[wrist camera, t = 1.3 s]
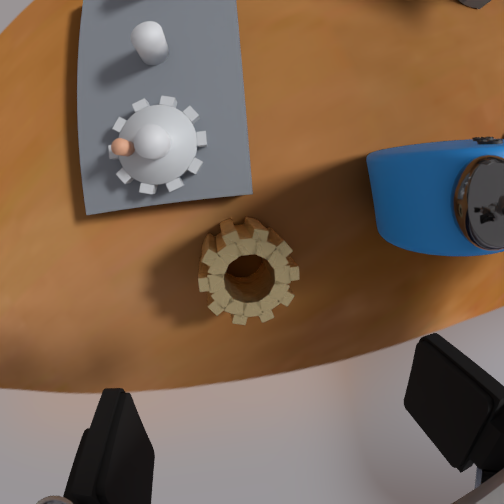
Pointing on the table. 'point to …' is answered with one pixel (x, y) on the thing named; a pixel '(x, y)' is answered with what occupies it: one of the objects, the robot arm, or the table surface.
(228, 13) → the gear board
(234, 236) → the brass gear
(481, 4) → the coffeepot
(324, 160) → the table surface
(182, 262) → the table surface
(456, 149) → the alarm clock
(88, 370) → the table surface
